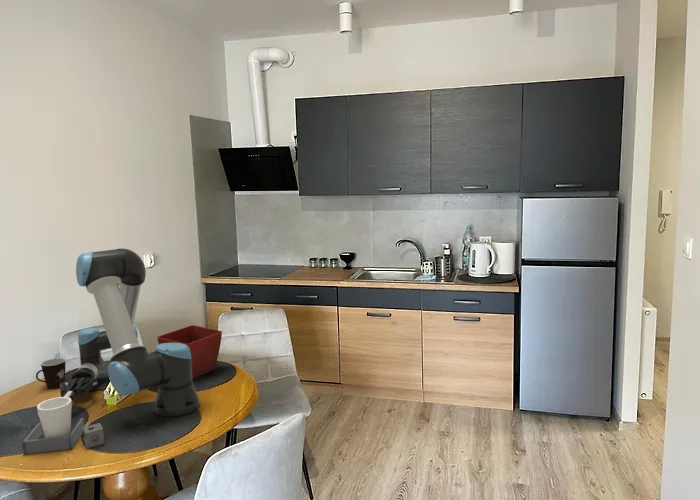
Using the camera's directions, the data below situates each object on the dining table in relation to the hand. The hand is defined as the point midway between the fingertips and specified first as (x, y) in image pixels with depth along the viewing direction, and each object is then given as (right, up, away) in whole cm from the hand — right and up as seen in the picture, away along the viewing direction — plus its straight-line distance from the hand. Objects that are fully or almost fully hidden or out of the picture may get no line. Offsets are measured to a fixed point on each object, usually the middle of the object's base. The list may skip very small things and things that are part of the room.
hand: (64, 402), depth 181 cm
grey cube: (+17, -9, -15) cm, 24 cm away
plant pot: (+31, 0, +42) cm, 53 cm away
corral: (+4, -8, -13) cm, 16 cm away
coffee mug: (-22, -3, +31) cm, 37 cm away
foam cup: (+6, -9, -14) cm, 17 cm away
